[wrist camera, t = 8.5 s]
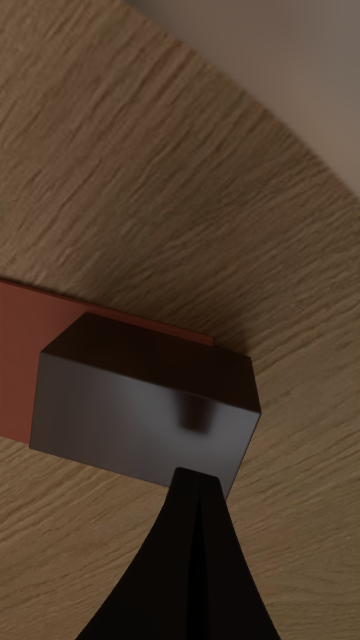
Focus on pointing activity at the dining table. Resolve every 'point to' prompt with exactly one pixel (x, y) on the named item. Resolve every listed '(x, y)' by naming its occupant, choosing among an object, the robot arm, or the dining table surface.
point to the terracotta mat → (44, 345)
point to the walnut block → (143, 402)
